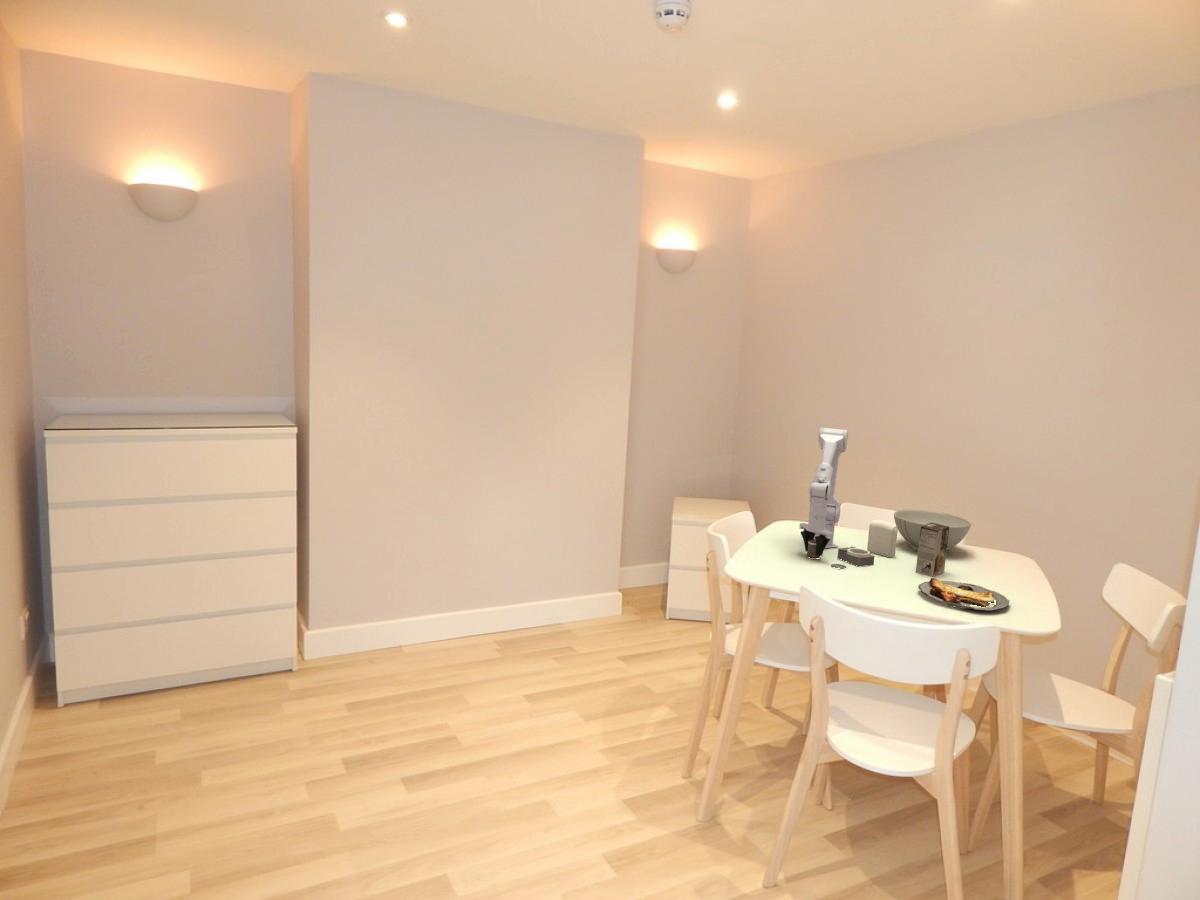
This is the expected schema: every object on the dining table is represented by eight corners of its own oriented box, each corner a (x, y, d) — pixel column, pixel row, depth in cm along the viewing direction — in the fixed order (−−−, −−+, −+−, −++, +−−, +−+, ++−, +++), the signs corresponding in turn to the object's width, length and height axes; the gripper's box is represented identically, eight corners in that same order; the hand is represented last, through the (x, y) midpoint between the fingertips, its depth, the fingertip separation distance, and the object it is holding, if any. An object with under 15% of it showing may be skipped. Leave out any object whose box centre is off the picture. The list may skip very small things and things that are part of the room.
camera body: (836, 558, 272) (837, 547, 272) (852, 556, 276) (853, 545, 275) (858, 566, 264) (859, 554, 263) (874, 564, 267) (875, 552, 267)
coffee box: (925, 567, 267) (931, 522, 265) (944, 572, 263) (950, 526, 260) (914, 572, 261) (920, 525, 258) (933, 577, 256) (939, 530, 254)
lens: (804, 556, 273) (805, 539, 272) (813, 555, 275) (815, 538, 275) (813, 559, 269) (814, 543, 269) (822, 558, 272) (824, 542, 271)
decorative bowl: (878, 546, 291) (882, 515, 289) (907, 535, 310) (910, 506, 309) (952, 564, 273) (956, 531, 271) (977, 551, 292) (981, 520, 291)
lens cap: (827, 566, 263) (827, 564, 263) (838, 565, 265) (838, 563, 265) (838, 571, 259) (838, 568, 259) (849, 569, 261) (849, 567, 261)
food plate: (910, 599, 232) (912, 588, 232) (926, 581, 252) (927, 571, 251) (1002, 622, 219) (1004, 610, 218) (1011, 601, 238) (1013, 590, 238)
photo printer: (864, 551, 284) (868, 518, 282) (871, 549, 287) (874, 517, 285) (890, 558, 276) (894, 524, 274) (896, 556, 279) (900, 523, 277)
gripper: (794, 511, 275) (790, 548, 277) (823, 521, 262) (820, 560, 264) (809, 510, 278) (805, 547, 280) (839, 520, 265) (835, 558, 267)
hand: (813, 553), depth 272 cm, fingers open, 5 cm apart
